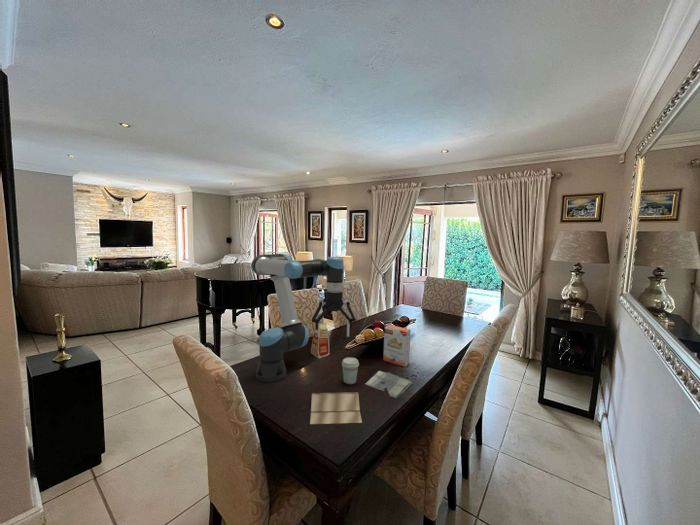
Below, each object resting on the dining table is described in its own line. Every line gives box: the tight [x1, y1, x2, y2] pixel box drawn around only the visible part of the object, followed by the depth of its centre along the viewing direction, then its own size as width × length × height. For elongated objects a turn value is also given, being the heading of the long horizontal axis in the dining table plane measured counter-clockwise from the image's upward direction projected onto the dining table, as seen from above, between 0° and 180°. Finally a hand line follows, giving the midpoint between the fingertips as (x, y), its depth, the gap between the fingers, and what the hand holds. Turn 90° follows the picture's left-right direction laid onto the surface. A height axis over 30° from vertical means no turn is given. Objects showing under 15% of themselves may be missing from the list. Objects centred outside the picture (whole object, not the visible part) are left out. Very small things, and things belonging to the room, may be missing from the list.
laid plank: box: [309, 410, 363, 425], centre depth 115 cm, size 20×8×2 cm, turn 95°
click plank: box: [310, 391, 361, 413], centre depth 122 cm, size 20×8×2 cm
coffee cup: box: [341, 356, 360, 385], centre depth 143 cm, size 8×9×12 cm
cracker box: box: [382, 324, 411, 368], centre depth 168 cm, size 14×6×21 cm, turn 55°
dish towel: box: [364, 370, 413, 400], centre depth 143 cm, size 19×18×3 cm
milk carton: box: [310, 322, 330, 359], centre depth 177 cm, size 9×9×20 cm
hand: (333, 336), depth 134 cm, fingers open, 13 cm apart
